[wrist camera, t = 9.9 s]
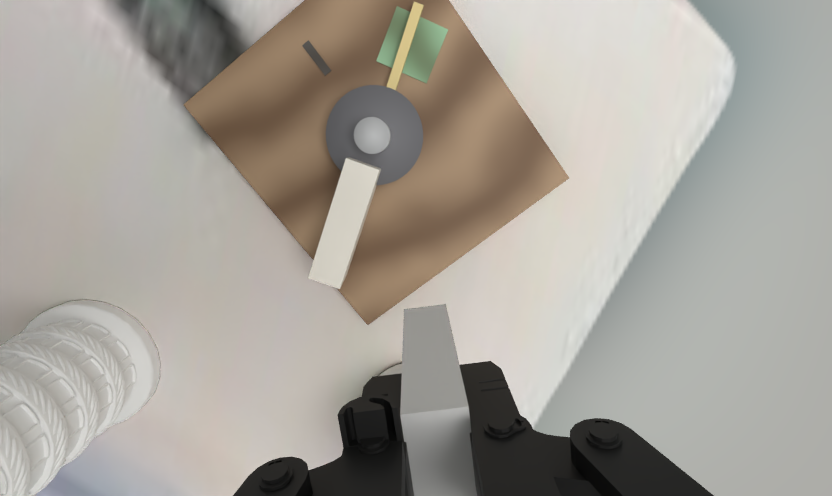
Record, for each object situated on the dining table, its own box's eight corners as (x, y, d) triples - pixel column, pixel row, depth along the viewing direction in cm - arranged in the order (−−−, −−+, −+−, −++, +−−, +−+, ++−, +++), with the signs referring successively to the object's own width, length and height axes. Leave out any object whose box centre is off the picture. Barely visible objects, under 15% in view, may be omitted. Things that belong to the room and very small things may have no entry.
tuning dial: (371, -13, 32) (366, -33, 28) (464, 24, 33) (471, 8, 29) (289, 256, 36) (275, 269, 32) (373, 284, 37) (369, 300, 33)
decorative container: (58, 274, 39) (-234, 381, 21) (182, 341, 40) (6, 492, 23) (8, 381, 41) (-295, 558, 23) (128, 440, 42) (-72, 649, 25)
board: (195, 107, 36) (182, 104, 34) (396, -65, 34) (395, -79, 31) (369, 316, 40) (367, 325, 38) (560, 176, 37) (569, 178, 35)
